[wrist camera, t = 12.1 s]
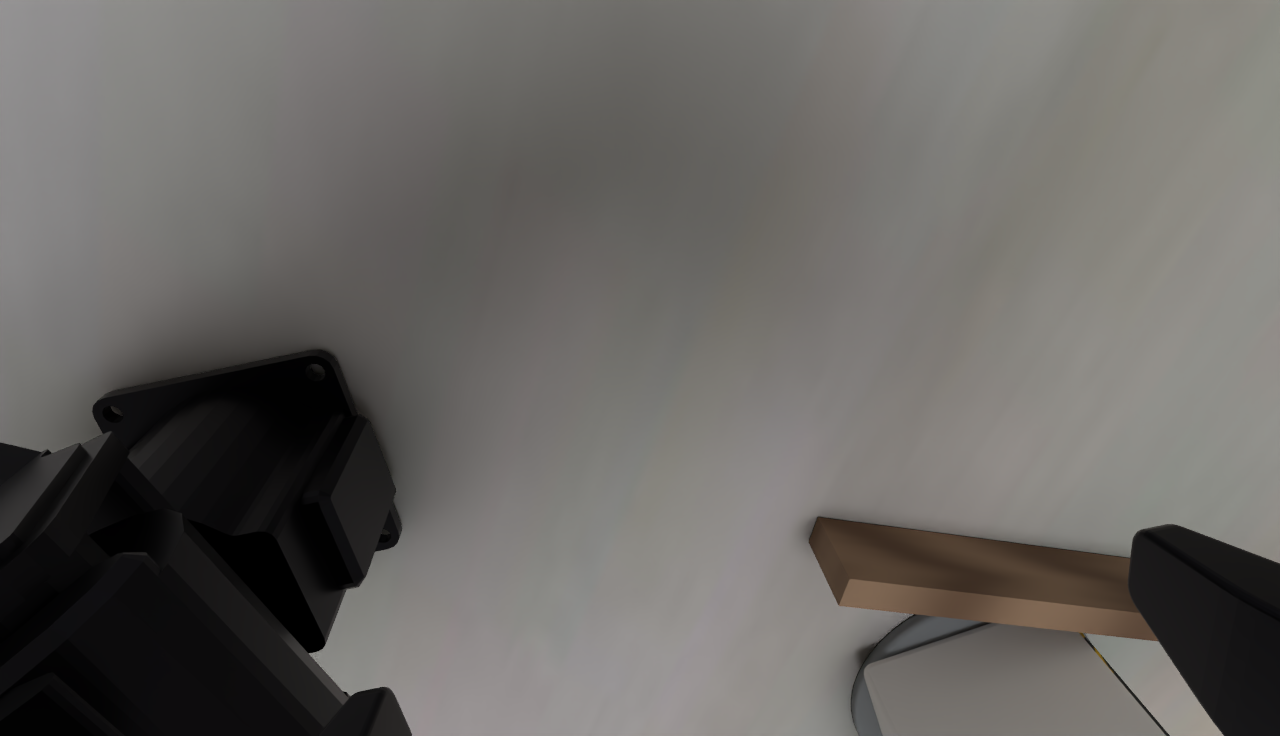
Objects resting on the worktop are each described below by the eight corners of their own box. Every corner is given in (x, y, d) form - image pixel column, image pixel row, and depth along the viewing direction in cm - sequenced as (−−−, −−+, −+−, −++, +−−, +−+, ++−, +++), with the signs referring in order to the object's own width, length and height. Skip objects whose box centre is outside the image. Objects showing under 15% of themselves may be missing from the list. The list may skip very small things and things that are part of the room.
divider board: (808, 542, 25) (838, 605, 22) (817, 516, 25) (849, 578, 22) (1307, 604, 28) (1386, 666, 26) (1322, 583, 28) (1404, 644, 25)
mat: (858, 788, 30) (863, 801, 30) (843, 620, 27) (849, 633, 26) (1077, 741, 30) (1086, 754, 30) (1093, 567, 27) (1104, 579, 26)
